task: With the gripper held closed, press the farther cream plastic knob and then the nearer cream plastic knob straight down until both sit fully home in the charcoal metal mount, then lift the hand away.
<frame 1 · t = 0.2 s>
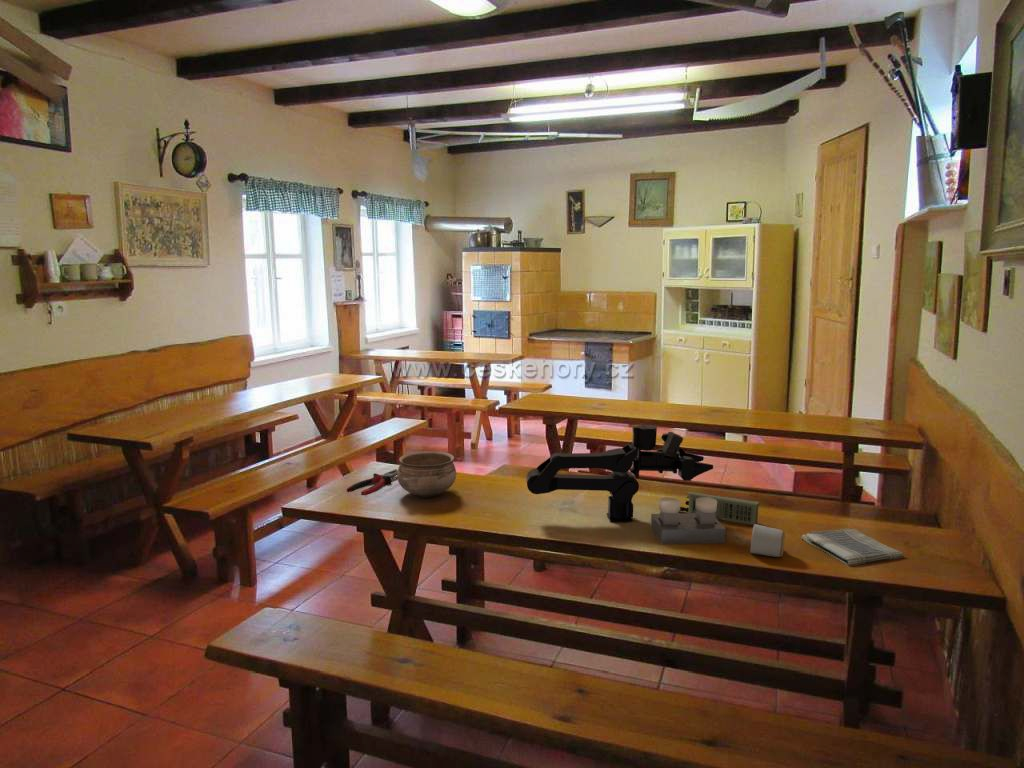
hand: (708, 462, 201), 17 cm above the table, tool horizontal, fingers open, 9 cm apart
mount: (686, 535, 190), on the table
handheld radio: (712, 518, 204), on the table
dish towel: (849, 550, 181), on the table
cooking pot: (427, 495, 225), on the table
knob far: (705, 511, 189), point 7 cm above the table, slide at 0.0 cm
knob near: (669, 512, 189), point 7 cm above the table, slide at 0.0 cm
block: (766, 553, 179), on the table
pliers: (377, 485, 236), on the table
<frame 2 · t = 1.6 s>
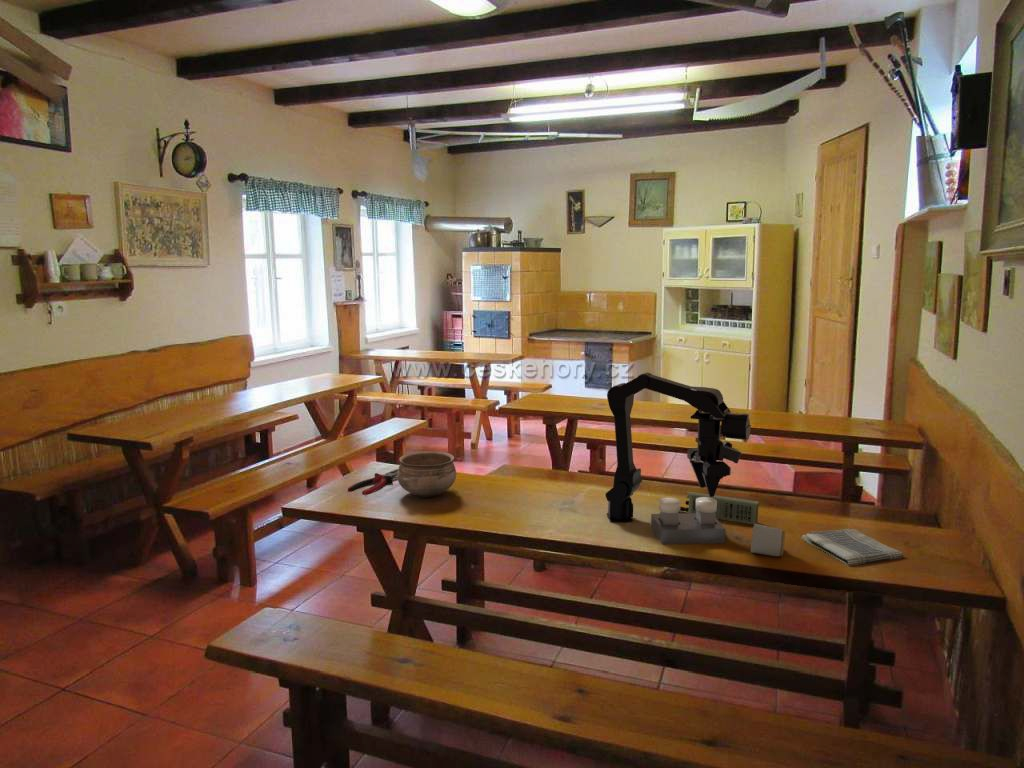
hand: (706, 491, 189), 12 cm above the table, tool pointing down, fingers open, 8 cm apart
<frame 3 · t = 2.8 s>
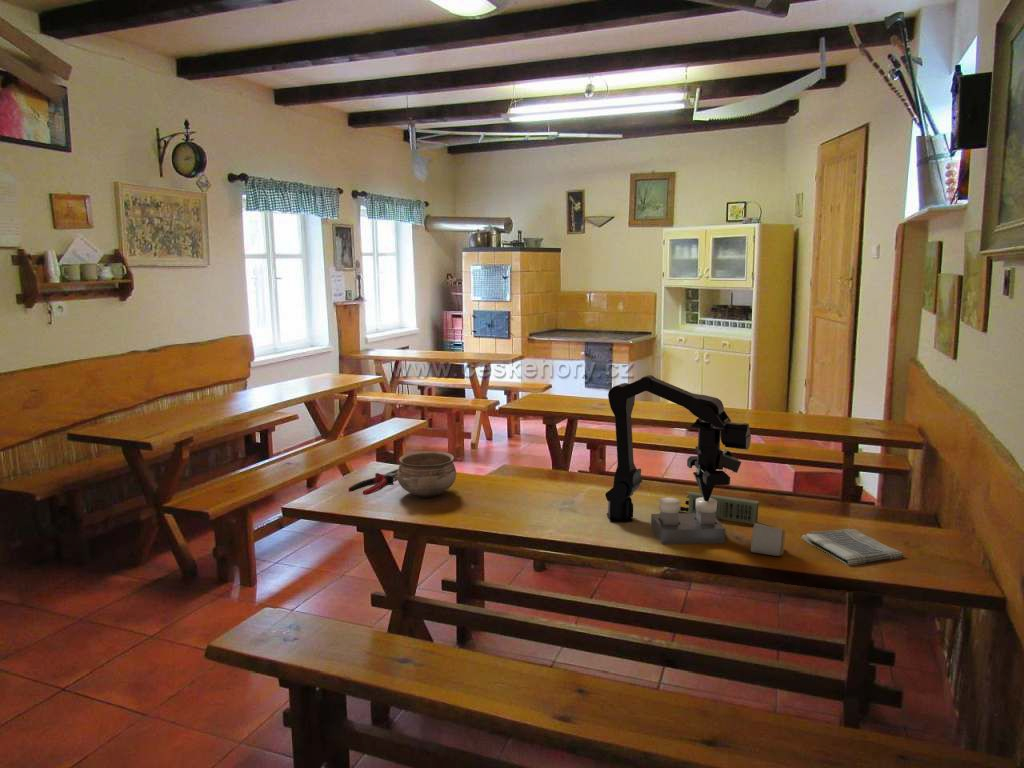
hand: (706, 500, 189), 10 cm above the table, tool pointing down, fingers closed, pressing on knob far
knob far: (705, 511, 189), point 7 cm above the table, slide at 0.0 cm, touching gripper
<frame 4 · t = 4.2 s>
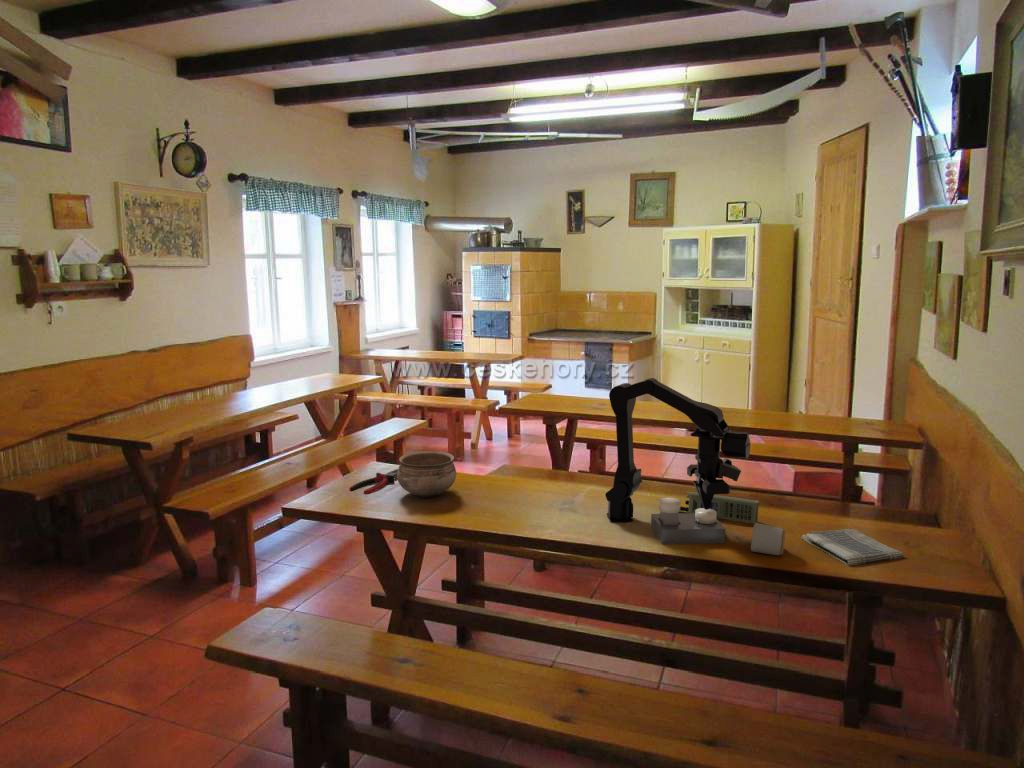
hand: (706, 509, 189), 7 cm above the table, tool pointing down, fingers closed
knob far: (705, 522, 190), point 3 cm above the table, slide at 3.2 cm
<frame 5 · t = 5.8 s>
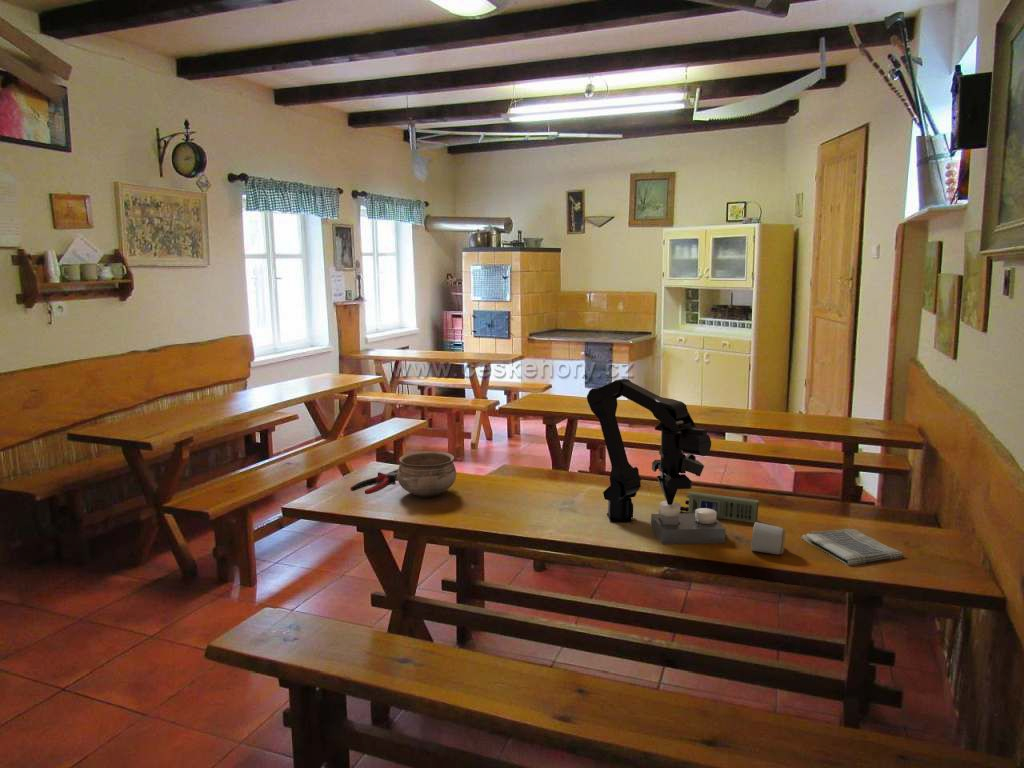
hand: (669, 504, 189), 9 cm above the table, tool pointing down, fingers closed, pressing on knob near
knob near: (669, 515, 189), point 6 cm above the table, slide at 0.9 cm, touching gripper
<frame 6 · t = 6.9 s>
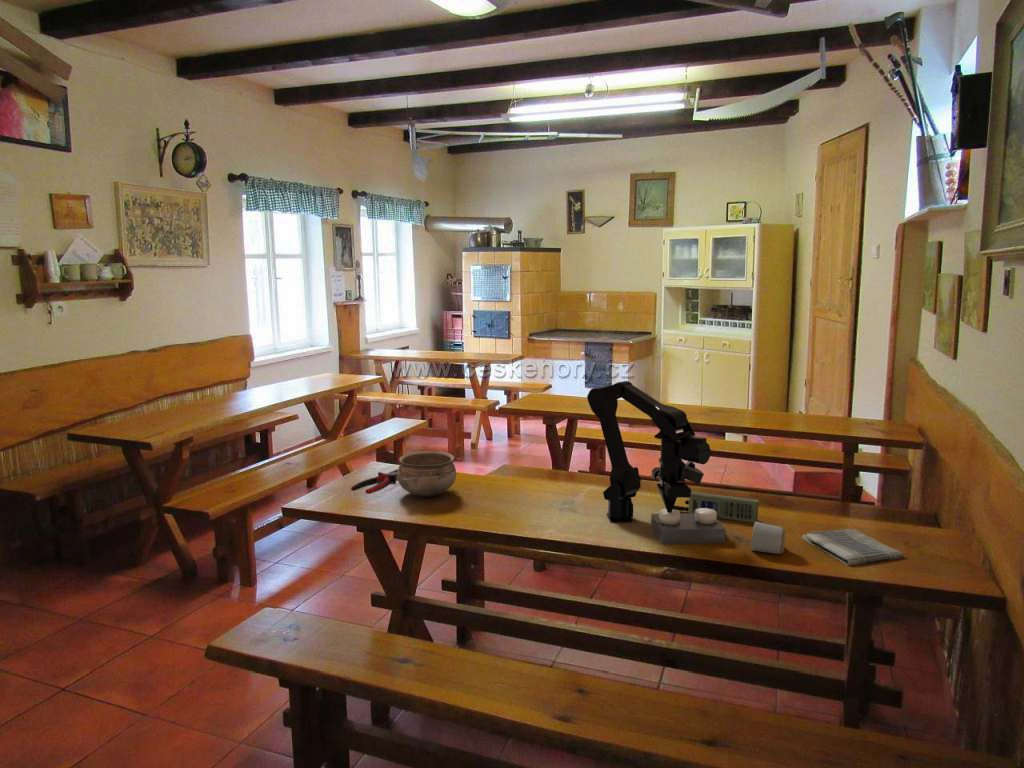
hand: (669, 512, 189), 7 cm above the table, tool pointing down, fingers closed, pressing on knob near
knob near: (669, 523, 190), point 3 cm above the table, slide at 3.2 cm, touching gripper
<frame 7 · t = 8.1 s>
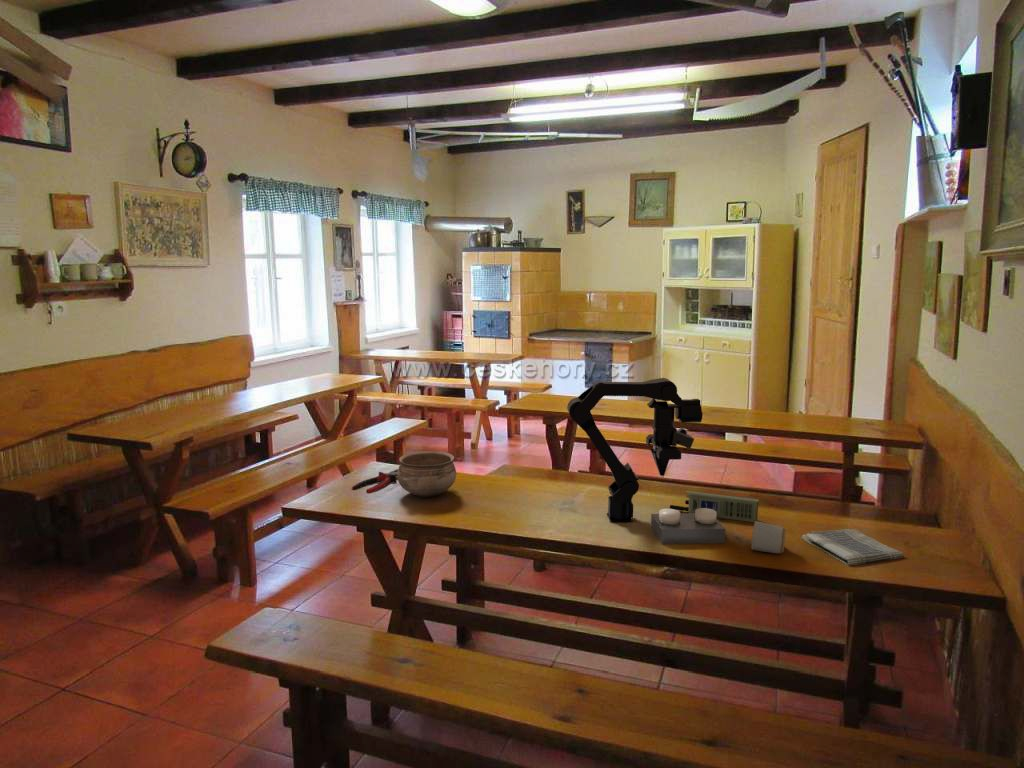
hand: (662, 475, 201), 13 cm above the table, tool pointing down, fingers closed
knob near: (669, 523, 189), point 4 cm above the table, slide at 3.1 cm
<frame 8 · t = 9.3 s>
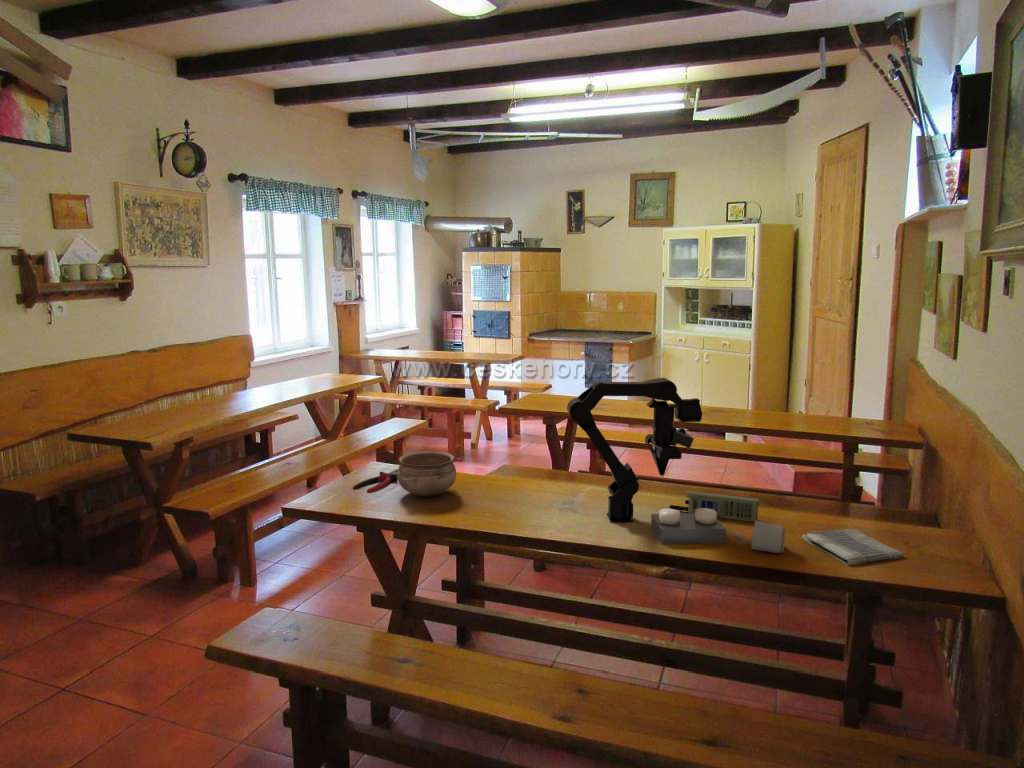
hand: (661, 475, 201), 13 cm above the table, tool pointing down, fingers closed
at the end: knob far slide at 3.2 cm; knob near slide at 3.1 cm; handheld radio moved 1.7 cm from its start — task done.
